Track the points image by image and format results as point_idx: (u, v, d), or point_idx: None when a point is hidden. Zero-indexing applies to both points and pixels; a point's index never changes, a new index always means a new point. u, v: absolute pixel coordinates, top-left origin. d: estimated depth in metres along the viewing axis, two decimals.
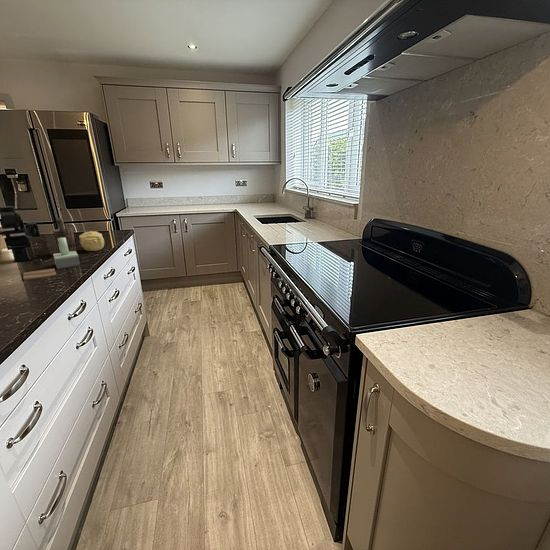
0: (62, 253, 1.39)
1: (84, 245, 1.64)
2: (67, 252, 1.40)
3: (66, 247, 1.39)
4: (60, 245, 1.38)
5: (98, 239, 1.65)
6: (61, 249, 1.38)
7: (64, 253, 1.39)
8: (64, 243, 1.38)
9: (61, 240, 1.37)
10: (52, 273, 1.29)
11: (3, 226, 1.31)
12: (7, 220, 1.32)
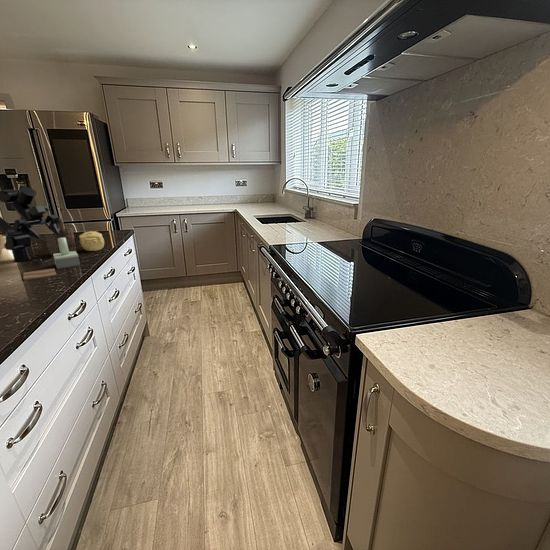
0: (62, 253, 1.39)
1: (84, 245, 1.64)
2: (67, 252, 1.40)
3: (66, 247, 1.39)
4: (60, 245, 1.38)
5: (98, 239, 1.65)
6: (61, 249, 1.38)
7: (64, 253, 1.39)
8: (64, 243, 1.38)
9: (61, 240, 1.37)
10: (52, 273, 1.29)
11: (31, 218, 1.36)
12: (37, 213, 1.37)
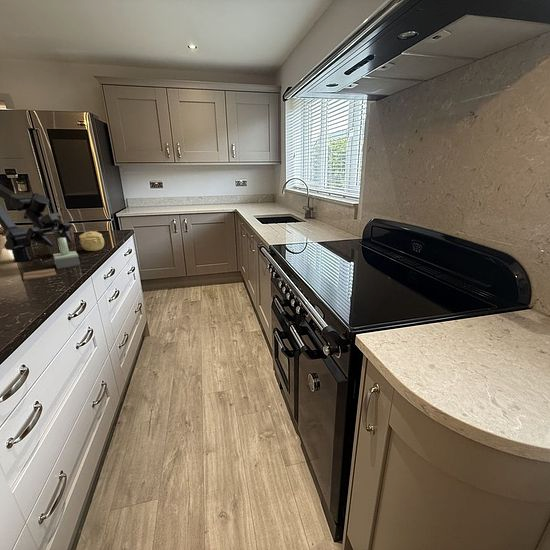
0: (62, 253, 1.39)
1: (84, 245, 1.64)
2: (67, 252, 1.40)
3: (66, 247, 1.39)
4: (60, 245, 1.38)
5: (98, 239, 1.65)
6: (61, 249, 1.38)
7: (64, 253, 1.39)
8: (64, 243, 1.38)
9: (61, 240, 1.37)
10: (52, 273, 1.29)
11: (44, 225, 1.35)
12: (50, 221, 1.36)
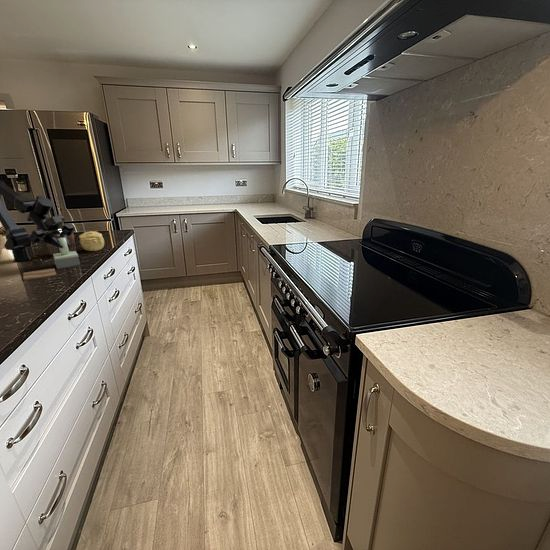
0: (62, 253, 1.39)
1: (84, 245, 1.64)
2: (67, 252, 1.40)
3: (66, 247, 1.39)
4: None
5: (98, 239, 1.65)
6: (61, 249, 1.38)
7: (64, 253, 1.39)
8: (64, 243, 1.38)
9: (61, 240, 1.37)
10: (52, 273, 1.29)
11: (48, 228, 1.35)
12: (54, 224, 1.36)
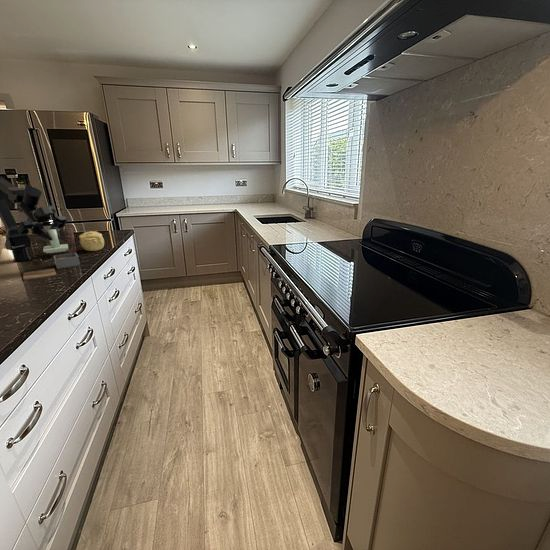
0: (52, 246, 1.33)
1: (84, 245, 1.64)
2: (57, 245, 1.34)
3: (56, 239, 1.33)
4: None
5: (98, 239, 1.65)
6: (51, 241, 1.32)
7: (54, 246, 1.33)
8: (54, 235, 1.32)
9: (51, 232, 1.31)
10: (52, 273, 1.29)
11: (38, 219, 1.30)
12: (44, 215, 1.30)
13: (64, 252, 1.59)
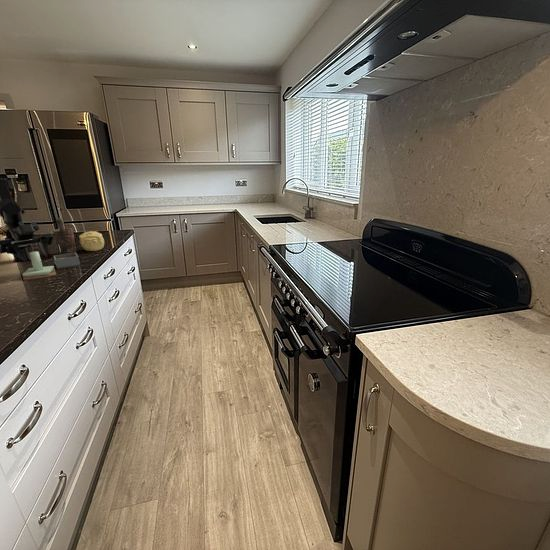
0: (34, 268, 1.27)
1: (84, 245, 1.64)
2: (39, 268, 1.27)
3: (38, 262, 1.27)
4: (31, 260, 1.26)
5: (98, 239, 1.65)
6: (33, 264, 1.26)
7: (36, 269, 1.27)
8: (36, 258, 1.26)
9: (32, 255, 1.25)
10: (52, 273, 1.29)
11: (19, 237, 1.24)
12: (25, 233, 1.24)
13: (64, 252, 1.59)
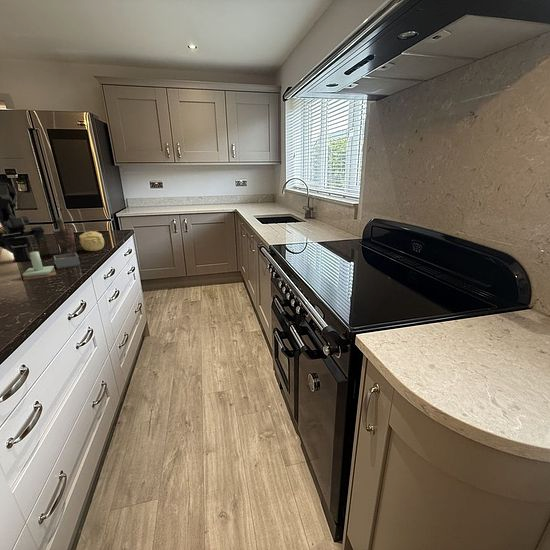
0: (34, 268, 1.27)
1: (84, 245, 1.64)
2: (39, 268, 1.27)
3: (38, 262, 1.27)
4: (31, 260, 1.26)
5: (98, 239, 1.65)
6: (33, 264, 1.26)
7: (36, 269, 1.27)
8: (36, 258, 1.26)
9: (32, 255, 1.25)
10: (52, 273, 1.29)
11: (10, 230, 1.27)
12: (16, 226, 1.27)
13: (64, 252, 1.59)
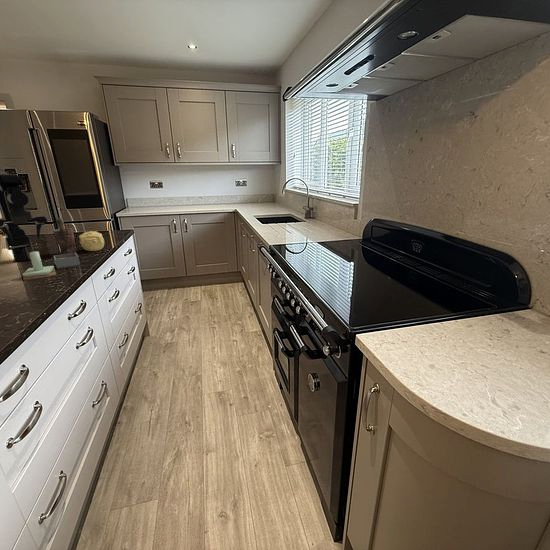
0: (34, 268, 1.27)
1: (84, 245, 1.64)
2: (39, 268, 1.27)
3: (38, 262, 1.27)
4: (31, 260, 1.26)
5: (98, 239, 1.65)
6: (33, 264, 1.26)
7: (36, 269, 1.27)
8: (36, 258, 1.26)
9: (32, 255, 1.25)
10: (52, 273, 1.29)
11: None
12: None
13: (64, 252, 1.59)
